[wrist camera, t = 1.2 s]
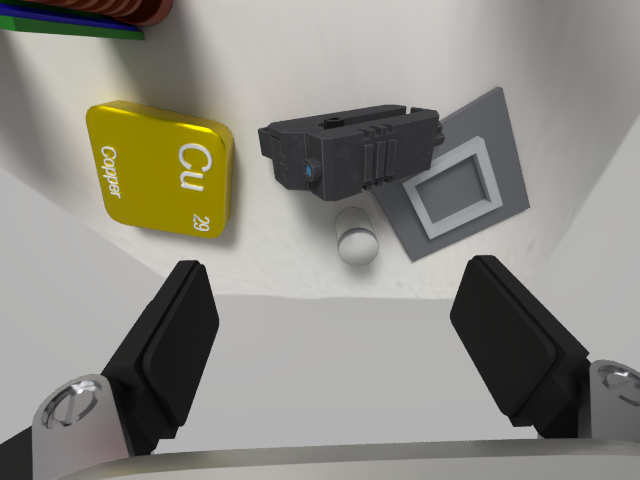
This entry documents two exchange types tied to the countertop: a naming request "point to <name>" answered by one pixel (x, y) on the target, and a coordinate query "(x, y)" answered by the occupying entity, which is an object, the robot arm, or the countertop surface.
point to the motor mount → (459, 181)
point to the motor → (83, 16)
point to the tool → (351, 149)
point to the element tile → (162, 168)
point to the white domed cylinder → (355, 237)
